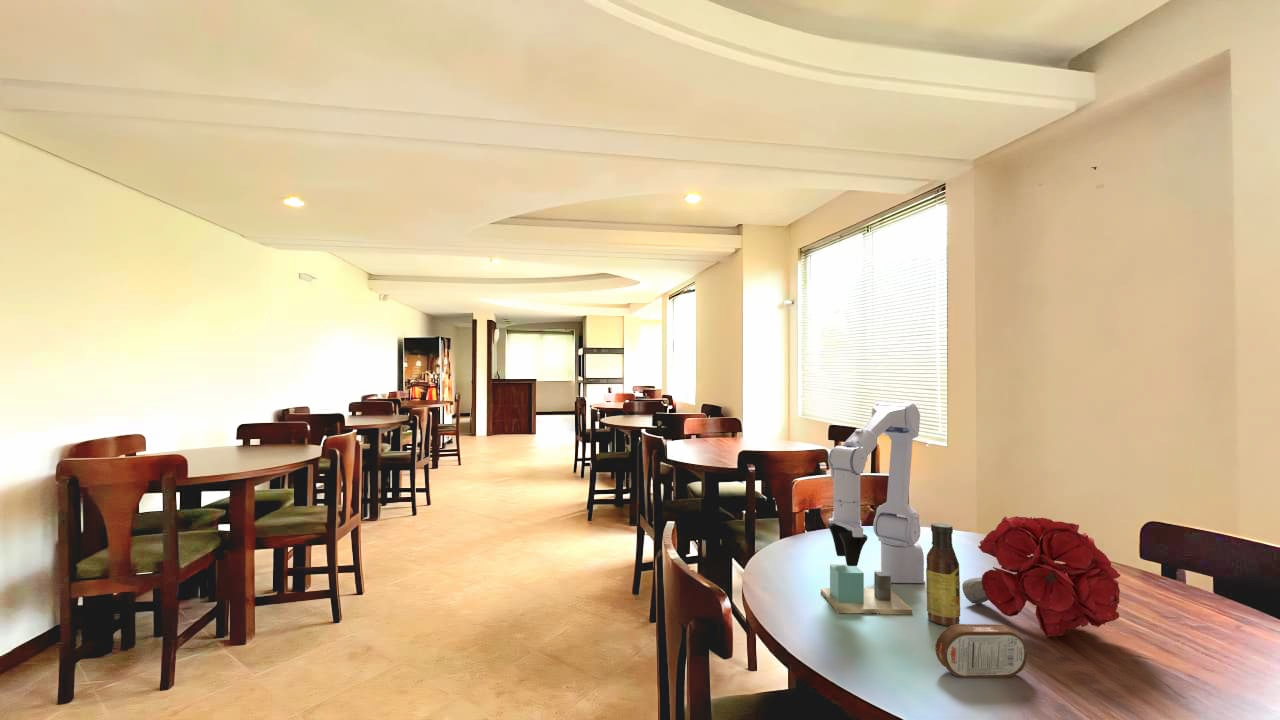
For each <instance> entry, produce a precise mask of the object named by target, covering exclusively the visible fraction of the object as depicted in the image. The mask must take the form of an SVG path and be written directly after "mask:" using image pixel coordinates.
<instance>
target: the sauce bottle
mask: <svg viewBox="0 0 1280 720" xmlns="http://www.w3.org/2000/svg"><path fill="white" fill-rule="evenodd" d="M930 531H931V537H932V539H931V545H932V546H931V548H930V549H929V550H928V552H927V554H926V568H925V570H926V571H925V572H926V575H925V576H926V579H925V584H926V611H927V617H928V619H929V620H930V621H931V622H933V623H935V624H938V625H942V626H948V627H950V626H952V625H956V624H960V616H961V590H960V589H961V585H960V584H961V582H960V581H961V579H960V578H961V577H960V563H959V560H958V557H957V555H956V553H955V549H954V547H953V535H952V534H953V533H954V532H953V525H951V524H950V523H949V524H948V523H943V522H932V523H931V524H930Z"/></svg>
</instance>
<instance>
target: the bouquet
mask: <svg viewBox="0 0 1280 720" xmlns="http://www.w3.org/2000/svg"><path fill="white" fill-rule="evenodd" d="M1079 530H1080V524H1076V523H1072V522H1071V523H1070V522H1069V523H1067V522H1065V521H1053V520H1052V519H1050V518H1045V517H1032V516H1029V517H1026V516H1017V515H1016V516H1012V517H1009V518H1008V517H1007V516H1006V515H1004V517H1002V520H1001V521H1000V522H999V524H997V525H996V527H995V530H991V531H990V532H988V534H986V536H985V537H984V538H983V539H981V540H980V541H979V544H980V545H978V546H977V548H978V549H979V550H980V551H981V552H982V553H984V554H986V555H990V556H992V557H994V558H995V559H996V561H997V562H998V565H999V566H1001V568H998V567H995V566H993V567H992V568H993V569H989V570H987V571H985V572H984V573H983V574H981V575H982V576H981V577H973V578H972V577H971V578H968V579H966V580H964V581H963V583H962V586H961V589H962V593H963V595H964V596H965V598H966V600H968V601H969V602H970V603H972V604H976V605H977V604H982V603H986V602H988V601H989V602H990V603H991V604H992V605H993V606H994V607H995V608H996V609H997V610H998V611H999V612H1000V613H1001V614H1003V615H1004V616H1007V617H1014V616H1018V615H1019V613H1021V612H1022V611H1023V609H1024V608H1025V606H1026V603H1027V602H1029V603H1031V605H1033V606H1035V616H1036V619H1037V620H1038V621H1037V622H1038V623H1039V626H1040V627H1039V628H1040V630H1041V631H1042V632H1043V633H1044V635H1045V636H1046V637H1047V636H1048V637H1052V636H1055V637H1057V636H1056V635H1059V636H1064V635H1065V634H1066V631H1067V630H1073V629H1077V628H1078V627H1082V628H1083V627H1086V626H1088V625H1091V626H1093V627H1097V628H1099V627H1101V626H1102V625H1104V626H1105V625H1106V623H1109V622H1110V623H1111V622H1113V621H1114V622H1115V621H1116V620H1118V619H1120V613H1119V612H1118V611H1117V610H1118V608H1119V603H1120V594H1121V593H1120V592H1121V590H1120V587H1119V581H1118V580H1116V579H1118V578H1120V577H1121V573H1119V572H1118V571H1117V569H1115V568H1114V567H1113V566H1112V562H1111V560H1110V559H1109V558H1108V556H1107V555H1106V554H1105V553H1104V552H1103V551H1102V550H1100V549H1099V548H1097V546H1096V545H1095V540H1094V538H1092V537H1089V534H1087V533H1086V532H1084V533H1082V534H1081V533H1079ZM1057 562H1060V563H1057ZM1061 562H1062V563H1061Z"/></svg>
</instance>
